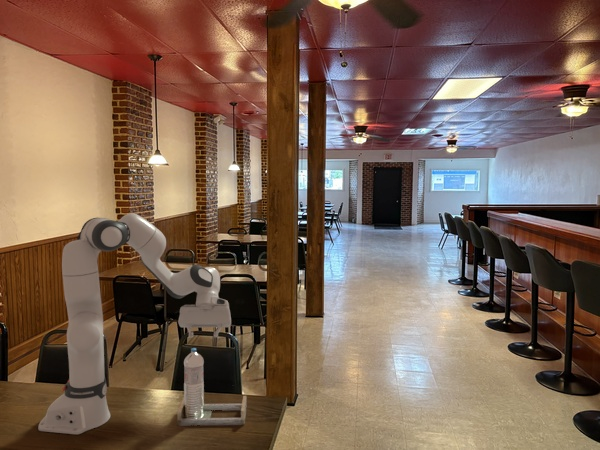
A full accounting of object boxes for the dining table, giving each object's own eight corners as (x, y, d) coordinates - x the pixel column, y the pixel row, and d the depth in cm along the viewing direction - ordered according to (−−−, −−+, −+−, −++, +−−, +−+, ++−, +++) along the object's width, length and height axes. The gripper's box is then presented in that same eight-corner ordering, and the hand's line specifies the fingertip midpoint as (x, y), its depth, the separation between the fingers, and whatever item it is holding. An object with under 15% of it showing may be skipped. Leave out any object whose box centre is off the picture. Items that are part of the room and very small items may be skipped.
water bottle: (200, 421, 157) (200, 352, 155) (181, 420, 158) (180, 351, 156) (206, 412, 164) (206, 345, 162) (188, 410, 165) (187, 344, 163)
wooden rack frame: (177, 425, 155) (177, 411, 154) (184, 409, 166) (184, 396, 166) (244, 424, 156) (244, 411, 156) (246, 408, 167) (246, 395, 167)
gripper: (179, 300, 177) (174, 333, 168) (231, 300, 178) (229, 332, 169) (181, 308, 182) (176, 340, 173) (232, 308, 183) (230, 340, 174)
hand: (203, 336), depth 171 cm, fingers open, 8 cm apart
